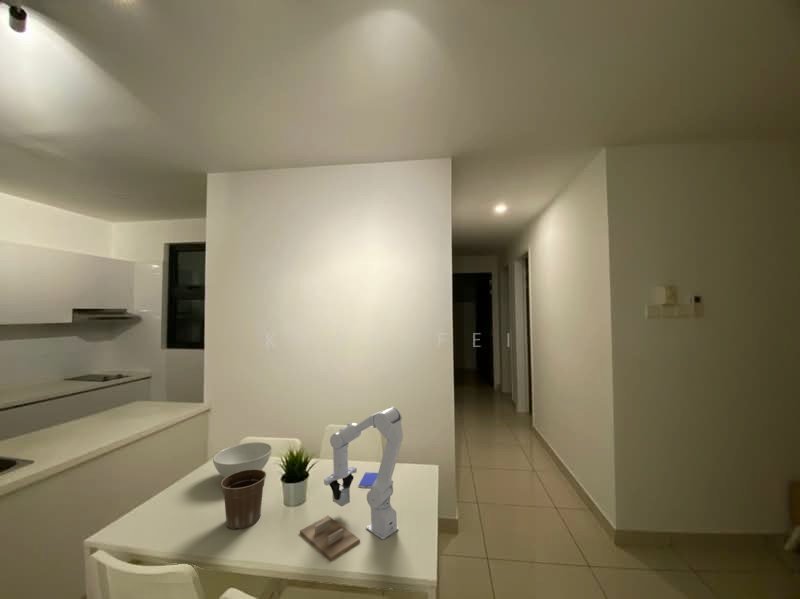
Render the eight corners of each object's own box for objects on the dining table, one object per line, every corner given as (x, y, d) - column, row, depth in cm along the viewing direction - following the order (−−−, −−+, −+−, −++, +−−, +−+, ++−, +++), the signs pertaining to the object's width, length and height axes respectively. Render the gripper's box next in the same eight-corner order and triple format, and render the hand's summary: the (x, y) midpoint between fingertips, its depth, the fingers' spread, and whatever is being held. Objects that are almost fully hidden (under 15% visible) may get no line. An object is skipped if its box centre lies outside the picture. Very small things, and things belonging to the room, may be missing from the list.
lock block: (349, 502, 130) (349, 486, 131) (341, 506, 127) (341, 490, 128) (340, 496, 135) (340, 481, 135) (332, 500, 132) (332, 485, 132)
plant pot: (248, 503, 140) (248, 465, 141) (275, 513, 132) (274, 473, 133) (211, 525, 126) (211, 482, 126) (238, 538, 118) (238, 492, 119)
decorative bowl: (199, 485, 157) (200, 459, 158) (245, 461, 182) (245, 439, 182) (240, 495, 147) (240, 468, 147) (283, 469, 171) (283, 445, 172)
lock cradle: (359, 541, 114) (359, 531, 115) (330, 560, 106) (330, 549, 106) (328, 518, 128) (327, 509, 129) (300, 533, 120) (299, 523, 120)
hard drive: (365, 472, 164) (358, 484, 151) (381, 472, 162) (375, 485, 150) (365, 475, 164) (358, 488, 151) (381, 476, 162) (375, 489, 150)
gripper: (349, 453, 140) (349, 486, 139) (319, 465, 129) (320, 500, 129) (359, 458, 135) (360, 492, 134) (329, 470, 124) (330, 507, 124)
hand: (341, 496), depth 131 cm, fingers closed on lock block, 4 cm apart
